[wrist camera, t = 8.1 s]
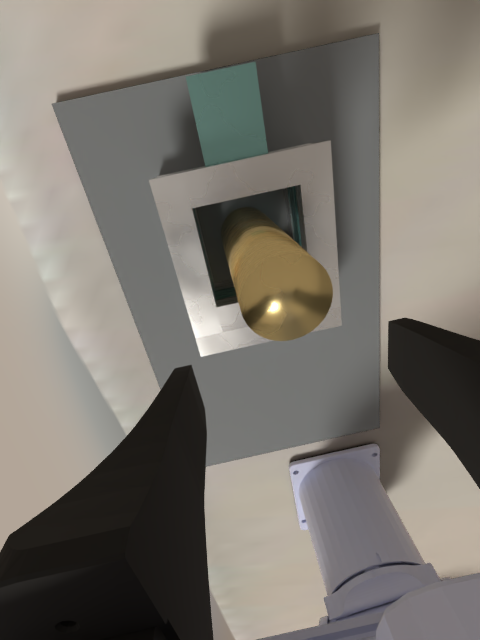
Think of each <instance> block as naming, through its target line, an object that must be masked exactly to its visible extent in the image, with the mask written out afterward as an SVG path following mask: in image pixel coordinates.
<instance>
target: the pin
mask: <svg viewBox="0 0 480 640" xmlns="http://www.w3.org/2000/svg"><path fill="white" fill-rule="evenodd" d="M221 239H222V243H223V247H224V251H225V254H226V258H227V262H228V265H229V269H230V273H231V277H232V280H233V284H234V288H235V291H236V295H237V299H238V303H239V306H240V310H241V313H242V316H243V319H244V321H245V322H246V324H247V325H248V326H249V328H250V329H251V330H252V331H254V332H255V333H256V334H258V335H259V336H261V337H263V338H266V339H269V340H274V341H288V340H294V339H297V338H300V337H302V336H304V335H306V334H308V333H310V332H311V331H313V330H314V329H315V328H316V327H317V326H318V325H319V324H320V323H321V322H322V321H323V320H324V318H325V317H326V315H327V313H328V311H329V309H330V307H331V303H332V298H333V287H332V282H331V279H330V276H329V274H328V273H327V271H326V269H325V268H324V267H323V266H322V265H321V264H320V263H319V262H318V261H317V260H316V259H314V258H313V257H312V256H311V255H310V254H309V253H308V252H307V251H305V250H304V249H303V248H302V247H301V246H300V245H299V244H298V243H296V242H295V241H294V240H293V239H292V238H291V237H290V236H289V235H287V234H286V233H285V232H284V231H283V230H282V229H281V228H280V227H278V226H277V225H276V224H275V223H274V222H273V221H272V220H271V219H269V218H268V217H267V216H266V215H265V214H264V213H263V212H261V211H260V210H258V209H256V208H252V207H242V208H238V209H236V210H234V211H233V212H231V213H230V214H229V215H228V216H227V217H226V219H225V220H224V222H223V225H222V228H221Z"/></svg>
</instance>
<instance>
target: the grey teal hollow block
mask: <svg viewBox="0 0 480 640" xmlns="http://www.w3.org/2000/svg"><path fill="white" fill-rule="evenodd" d="M186 81H187V86H188V90H189V95H190V99H191V104H192V108H193V113H194V117H195V122H196V127H197V131H198V136H199V140H200V145H201V149H202V154H203V159H204V163H205V166H201V167H197V168H192V169H187V170H183V171H178V172H174V173H169V174H164V175H160V176H157V178H153V179H150V180H149V183H150V186H151V190H152V193H153V196H154V200H155V203H156V206H157V210H158V213H159V217H160V220H161V223H162V227H163V230H164V234H165V237H166V240H167V244H168V247H169V251H170V254H171V257H172V261H173V264H174V267H175V271H176V274H177V278H178V281H179V284H180V288H181V291H182V295H183V298H184V301H185V305H186V308H187V312H188V315H189V318H190V322H191V325H192V328H193V332H194V335H195V339H196V342H197V345H198V349H199V352H200V356H201V357H202V356H207V355H211V354H216V353H220V352H225V351H229V350H234V349H238V348H243V347H247V346H252V345H256V344H261V343H265V342H270V341H274V340H269V339H266V338H263V337H261V336H259V335H258V334H256V333H255V332H254V331H252V330H251V329H250V328H249V326H248V325H247V324H246V322H245V321H244V319H243V316H242V313H241V310H240V306H239V303H238V299H237V295H236V291H235V288H234V284H233V280H232V279H229V280H224V281H220V282H215V283H214V280H213V276H212V272H211V268H210V264H209V260H208V256H207V251H206V247H205V243H204V239H203V235H202V231H201V227H200V223H199V219H198V215H197V210H196V207H200V206H205V205H210V204H214V203H219V202H223V201H228V200H232V199H237V198H242V197H246V196H251V195H255V194H260V193H265V192H269V191H274V190H278V189H283V190H284V198H285V206H286V214H287V222H288V230H289V236H290V237H291V238H292V239H293V240H294V241H295V242H296V243H298V244H299V245H300V246H301V247H302V248H303V249H304V250H305V251H307V252H308V253H309V254H310V255H311V256H312V257H313V258H314V259H316V260H317V261H318V262H319V263H320V264H321V265H322V266H323V267H324V268H325V269H326V271H327V273H328V274H329V276H330V279H331V282H332V287H333V298H332V303H331V307H330V309H329V311H328V313H327V315H326V317H325V318H324V320H323V321H322V322H321V323H320V324H319V325H318V326H317V327H316V328H315V329H314V330H313V331H311V332H315V331H320V330H324V329H329V328H333V327H338V326H342V320H341V303H340V287H339V270H338V254H337V237H336V220H335V204H334V187H333V171H332V154H331V140H330V141H323V142H318V143H313V144H312V143H307V144H302V145H298V146H293V147H288V148H284V149H279V150H275V151H270V152H268V149H267V141H266V134H265V127H264V120H263V112H262V105H261V98H260V91H259V83H258V76H257V69H256V62H251V63H246V64H242V65H237V66H232V67H228V68H223V69H218V70H214V71H209V72H205V73H200V74H195V75H191V76H186ZM311 332H310V333H311Z"/></svg>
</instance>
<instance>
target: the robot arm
mask: <svg viewBox="0 0 480 640" xmlns="http://www.w3.org/2000/svg"><path fill="white" fill-rule="evenodd" d="M388 369H389V371H390V372H391V374H392V376H393V377H394V379H395V380H396V382H397V383H398V385H399V386H400V388H401V389H402V391H403V392H404V393H405V395H406V396H407V397H408V398H409V399H410V400H411V402H412V403H413V404H414V405H415V406H416V407H417V409H418V410H419V411H420V412H421V413H422V414H423V416H424V417H425V418H426V419H427V420H428V421H429V422H430V424H431V425H432V426H433V427H434V428H435V429H436V431H437V432H438V433H439V434H440V435H441V436H442V437H443V439H444V440H445V441H446V442H447V444H448V445H449V446H450V447H451V449H452V450H453V451H454V452H455V454H456V455H457V457H458V458H459V460H460V461H461V462H462V464H463V465H464V467H465V468H466V470H467V471H468V472H469V474H470V475H471V477H472V478H473V480H474V481H475V483H476V484H477V486H478V487H479V489H480V341H479V340H476V339H473V338H469V337H466V336H463V335H460V334H457V333H453V332H450V331H447V330H444V329H441V328H438V327H435V326H432V325H429V324H426V323H423V322H420V321H416V320H413V319H408V318H402V319H397V320H393V321H389V325H388ZM206 447H207V426H206V414H205V407H204V404H203V400H202V397H201V394H200V391H199V387H198V384H197V381H196V378H195V375H194V371H193V368H192V365H188V366H183V367H178V368H175V369H174V370H173V372H172V373H171V375H170V376H169V378H168V379H167V381H166V383H165V384H164V386H163V387H162V389H161V390H160V392H159V394H158V395H157V397H156V398H155V400H154V401H153V403H152V404H151V406H150V407H149V408H148V410H147V411H146V412H145V414H144V415H143V416H142V418H141V419H140V420H139V422H138V423H137V424H136V426H135V427H134V428H133V429H132V431H131V432H130V433H129V434H128V435H127V436H126V438H125V439H124V440H123V441H122V442H121V443H120V444H119V445H118V446H117V447H116V448H115V450H114V451H113V452H112V453H111V454H110V455H109V456H107V458H105V459H104V460H103V461H102V462H101V463H100V464H99V465H98V466H97V467H96V468H95V469H94V470H93V471H92V472H91V473H90V474H89V475H87V476H86V477H85V478H84V479H83V480H82V481H81V482H79V484H77V485H76V486H75V487H74V488H72V489H71V490H70V491H69V492H67V493H66V494H65V495H64V496H62V497H61V498H60V499H59V500H57V501H56V502H55V503H53V504H52V505H51V506H50V507H48V508H47V509H45V510H44V511H43V512H41V513H40V514H39V515H37V516H36V517H34V518H33V519H32V520H30V521H29V522H27V523H26V524H25V525H23V526H22V527H20V528H19V529H18V530H16V531H15V532H13V533H12V534H10V535H9V537H8V539H7V541H6V542H5V544H4V546H3V548H2V550H1V552H0V640H213V630H212V619H211V607H210V593H209V580H208V566H207V550H206V533H205V513H204V488H205V468H206ZM289 471H290V477H291V482H292V488H293V493H294V498H295V504H296V509H297V515H298V520H299V525H300V529H302V530H308V529H309V532H310V536H311V539H312V543H313V546H314V550H315V553H316V557H317V560H318V564H319V567H320V571H321V574H322V578H323V581H324V585H325V588H326V592H327V595H328V596H326V597H324V602H325V605H326V609H327V612H328V616H325V617H322V618H320V620H319V626H315V627H311V628H306V629H302V630H297V631H293V632H288V633H284V634H280V635H275V636H271V637H266V638H262V639H257V640H480V573H476V574H471V575H467V576H462V577H458V578H454V579H452V578H450V577H446V578H443V579H441V580H440V578H439V576H438V575H437V573H436V571H435V569H434V568H433V566H432V564H431V563H427V564H425V562H424V560H423V559H422V557H421V555H420V553H419V551H418V549H417V548H416V546H415V544H414V542H413V540H412V539H411V537H410V535H409V533H408V531H407V529H406V528H405V526H404V524H403V522H402V520H401V519H400V517H399V515H398V513H397V511H396V509H395V508H394V506H393V504H392V502H391V500H390V499H389V497H388V495H387V493H386V491H385V489H384V488H383V486H382V484H381V482H380V448H379V446H378V445H377V444H369V445H365V446H360V447H356V448H351V449H347V450H342V451H338V452H333V453H329V454H324V455H320V456H316V457H311V458H307V459H302V460H298V461H293V462H291V463H290V464H289Z"/></svg>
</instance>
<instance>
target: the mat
mask: <svg viewBox="0 0 480 640" xmlns="http://www.w3.org/2000/svg"><path fill="white" fill-rule="evenodd" d="M251 62H256V69H257V76H258V83H259V91H260V98H261V105H262V112H263V120H264V127H265V134H266V141H267V149H268V152H270V151H275V150H279V149H284V148H288V147H293V146H298V145H302V144H307V143H312V144H313V143H318V142H323V141H330V140H331V154H332V171H333V187H334V204H335V220H336V237H337V254H338V270H339V287H340V303H341V320H342V326H338V327H333V328H329V329H324V330H320V331H315V332H311V333H308V334H306V335H304V336H302V337H300V338H297V339H294V340H288V341H270V342H265V343H261V344H256V345H252V346H247V347H243V348H238V349H234V350H229V351H225V352H220V353H216V354H211V355H207V356H202V357H201V356H200V352H199V349H198V345H197V342H196V339H195V335H194V332H193V328H192V325H191V322H190V318H189V315H188V312H187V308H186V305H185V301H184V298H183V295H182V291H181V288H180V284H179V281H178V278H177V274H176V271H175V267H174V264H173V261H172V257H171V254H170V251H169V247H168V244H167V240H166V237H165V234H164V230H163V227H162V223H161V220H160V217H159V213H158V210H157V206H156V203H155V200H154V196H153V193H152V190H151V186H150V183H149V180H150V179H153V178H157V176H160V175H164V174H169V173H174V172H178V171H183V170H187V169H192V168H197V167H201V166H205V163H204V159H203V154H202V149H201V145H200V140H199V136H198V131H197V127H196V122H195V117H194V113H193V108H192V104H191V99H190V95H189V90H188V86H187V81H186V76H191V75H195V74H200V73H205V72H209V71H214V70H218V69H223V68H228V67H232V66H237V65H242V64H246V63H251ZM52 106H53V109H54V112H55V114H56V117H57V119H58V122H59V125H60V127H61V130H62V132H63V135H64V138H65V140H66V143H67V146H68V148H69V151H70V153H71V156H72V159H73V161H74V164H75V167H76V169H77V172H78V174H79V177H80V180H81V182H82V185H83V187H84V190H85V193H86V195H87V198H88V201H89V203H90V206H91V208H92V211H93V214H94V216H95V219H96V222H97V224H98V227H99V229H100V232H101V235H102V237H103V240H104V242H105V245H106V248H107V250H108V253H109V256H110V258H111V261H112V263H113V266H114V269H115V271H116V274H117V277H118V279H119V282H120V284H121V287H122V290H123V292H124V295H125V297H126V300H127V303H128V305H129V308H130V311H131V313H132V316H133V318H134V321H135V324H136V326H137V329H138V332H139V334H140V337H141V339H142V342H143V345H144V347H145V350H146V352H147V355H148V358H149V360H150V363H151V366H152V368H153V371H154V373H155V376H156V379H157V381H158V384H159V387H160V389H162V387H163V386H164V384H165V383H166V381H167V379H168V378H169V376H170V375H171V373H172V372H173V370H174V369H175V368H178V367H183V366H188V365H192V368H193V371H194V375H195V378H196V381H197V384H198V387H199V391H200V394H201V397H202V400H203V404H204V407H205V414H206V426H207V447H206V467H207V466H211V465H216V464H220V463H225V462H229V461H234V460H238V459H243V458H247V457H251V456H256V455H260V454H265V453H269V452H274V451H278V450H283V449H287V448H292V447H296V446H301V445H305V444H310V443H314V442H319V441H323V440H327V439H332V438H336V437H341V436H345V435H350V434H354V433H359V432H363V431H368V430H372V429H377V428H380V391H379V33H377V34H373V35H368V36H363V37H359V38H354V39H349V40H345V41H340V42H335V43H331V44H326V45H322V46H317V47H312V48H308V49H303V50H298V51H294V52H289V53H285V54H280V55H275V56H271V57H266V58H261V59H257V60H252V61H247V62H243V63H238V64H234V65H229V66H224V67H220V68H215V69H210V70H206V71H201V72H197V73H192V74H187V75H183V76H178V77H173V78H169V79H164V80H159V81H155V82H150V83H146V84H141V85H136V86H132V87H127V88H122V89H118V90H113V91H109V92H104V93H99V94H95V95H90V96H85V97H81V98H76V99H71V100H67V101H62V102H58V103H53V104H52ZM242 207H252V208H256V209H258V210H260V211H261V212H263V213H264V214H265V215H266V216H267V217H268V218H269V219H271V220H272V221H273V222H274V223H275V224H276V225H277V226H278V227H280V228H281V229H282V230H283V231H284V232H285V233H286V234H287V235H289V230H288V222H287V214H286V206H285V198H284V190H283V189H278V190H274V191H269V192H265V193H260V194H255V195H251V196H246V197H242V198H237V199H232V200H228V201H223V202H219V203H214V204H210V205H205V206H200V207H196V210H197V215H198V219H199V223H200V227H201V231H202V235H203V239H204V243H205V247H206V251H207V256H208V260H209V264H210V268H211V272H212V276H213V280H214V283H215V282H220V281H224V280H229V279H232V277H231V273H230V269H229V265H228V262H227V258H226V254H225V251H224V247H223V243H222V239H221V228H222V225H223V222H224V220H225V219H226V217H227V216H228V215H229V214H230V213H231V212H233V211H234V210H236V209H238V208H242Z"/></svg>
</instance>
